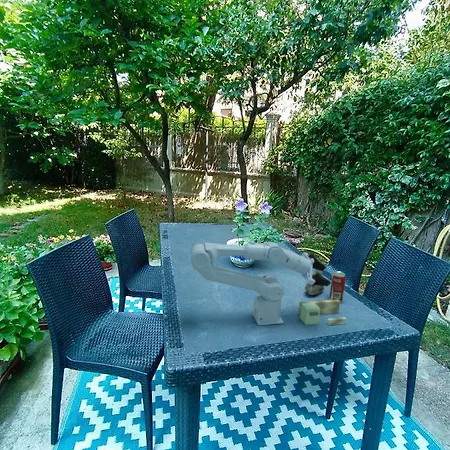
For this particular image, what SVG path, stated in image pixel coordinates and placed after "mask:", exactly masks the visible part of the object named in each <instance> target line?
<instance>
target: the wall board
mask: <svg viewBox="0 0 450 450" xmlns="http://www.w3.org/2000/svg"><path fill="white" fill-rule="evenodd" d="M303 303H315V304H316V305H317V306H318V307H319V308H320V316H321V315H331V314H334V315H335V314H339V311H340V305H341V304H340V303H341V302H340V301H339V300H338V299H337V300H330V299H327V300H323V299H322V300H313V301H312V300H311V301H309V300H308V301H299V304H298V313H297V314H298V316H299V317H300V315H301V305H302V304H303ZM346 324H347V317H345V316H342V317H331V318H327V319H326V325H327V326H338V325H346Z"/></svg>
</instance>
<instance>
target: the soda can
mask: <svg viewBox="0 0 450 450" xmlns="http://www.w3.org/2000/svg"><path fill="white" fill-rule="evenodd" d="M346 277H347V276H346V273H344V272H343V271H338V270H337V271H333V273H332V274H331V281H330V282H331V284H330V291H329V300H337V299H338V300H339V301H340V303H342V302H343V300H344V294H345V287H346V286H345V285H346Z"/></svg>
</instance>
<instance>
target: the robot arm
mask: <svg viewBox="0 0 450 450" xmlns="http://www.w3.org/2000/svg"><path fill="white" fill-rule="evenodd" d="M219 257H244V259H245V260H251V261H253V260H255V261H266V260H268V261H269V262H271V264H279V265H281V266H283V267H285V268H288V269H289V270H292V271H294V272H297V273H298V274H301V276H302V277H303V279H305V282H306V284H308V285H309V286H316V285H321V286H324V287H329V286H331V282H332V281H330V280H329V279H327V278H326V277H325V276H321V275H320V274H319V272H318V273H317V274H316V275H313V269H314V270H316V269H317V270H320V271H322V272H324V271H325V269H327V266H326V265H325V264H324V263H322V262H321V261H320V260H319V259H318V258H317V257H316V255H315V254H313V253H310V254H309V253H307V252H306V251H303V252H302V254H300V255H299V254H298V253H296V252H293V251H291V250H289V249H286V248H284V247H282V246H279V245H278V244H277V243H276V242H273V241H265V242H264V243H261V242H260V243H259V242H255V241H254V240H250V242H246V243H244V244H243V245H236V244H234V245H233V244H224V243H213V242H196V243H194V244H193V245H192V246H191V247H190V264H191V265H192V267H193V270H194V271H195V272H197V273H199V275H200V276H202V277H203V278H204V279H205V280H207V281H210V282H214V283H219V284H223V285H227V286H231V287H237V288H241V289H245V290H250V291H254V292H256V293H258V294H259V295H258V296H254V299H253V306H252V307H253V309H252V313H251V314H252V316H253V318H254V320H255V323H257V325H258V326H266V325H280V324H284V320H283V319H282V317H281V305H282V298H283V297H284V296H285V289H284V286H282V284H281V283H280V282H279V280H278V279H277V277H276V276H275V275H274V274H272V273H271V274H270V273H269V274H267V273H266V274H261V273H260V274H257V275H255V274H251V273H246V272H242V271H238V270H233V269H229V268H225V267H222V266H217V265H215V263H214V262H215V261H216V260H217V259H218V258H219Z"/></svg>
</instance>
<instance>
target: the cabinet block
mask: <svg viewBox="0 0 450 450" xmlns="http://www.w3.org/2000/svg"><path fill="white" fill-rule="evenodd" d="M320 317H321V315H320V308H319V307H318V306H317V305H316V304H315V303H303V304H302V305H301V315H300V316H299V318H300V320H301V322H303V324H304V325H305V326H312V325H319V323H320Z"/></svg>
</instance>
